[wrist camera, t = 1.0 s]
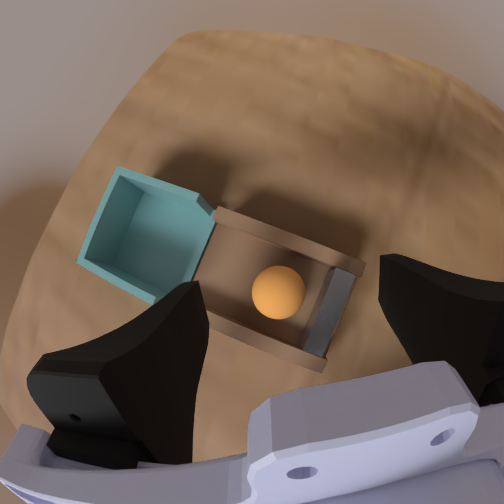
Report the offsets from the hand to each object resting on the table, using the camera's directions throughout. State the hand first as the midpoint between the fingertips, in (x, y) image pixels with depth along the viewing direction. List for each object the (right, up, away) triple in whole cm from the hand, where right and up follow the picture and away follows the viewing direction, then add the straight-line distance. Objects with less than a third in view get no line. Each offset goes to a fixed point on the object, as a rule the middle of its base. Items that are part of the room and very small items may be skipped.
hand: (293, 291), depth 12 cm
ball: (0, -1, +8) cm, 8 cm away
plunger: (+3, -2, +9) cm, 10 cm away
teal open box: (-9, +2, +14) cm, 17 cm away
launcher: (0, -1, +12) cm, 12 cm away
